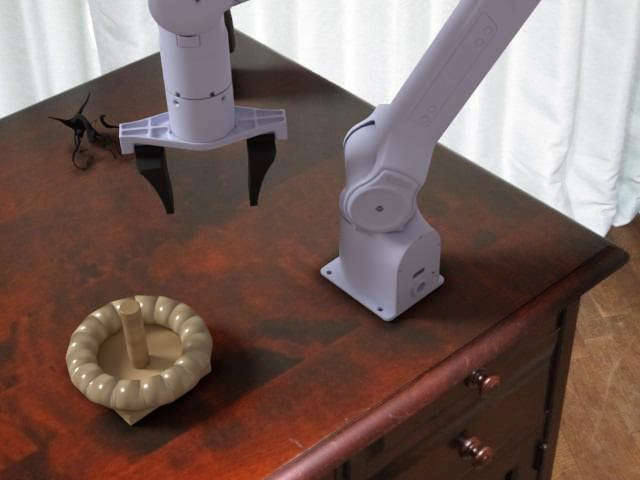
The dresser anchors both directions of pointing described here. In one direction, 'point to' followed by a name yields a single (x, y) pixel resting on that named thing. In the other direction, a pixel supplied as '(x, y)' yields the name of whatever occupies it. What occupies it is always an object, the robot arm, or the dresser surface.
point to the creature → (82, 125)
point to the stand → (138, 352)
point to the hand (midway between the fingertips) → (211, 203)
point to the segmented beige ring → (150, 389)
